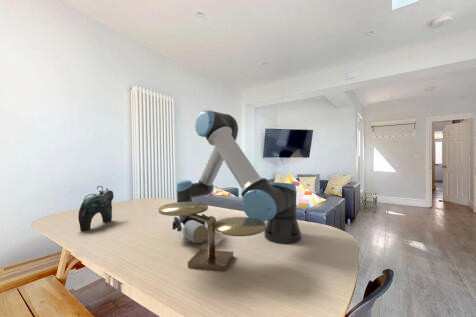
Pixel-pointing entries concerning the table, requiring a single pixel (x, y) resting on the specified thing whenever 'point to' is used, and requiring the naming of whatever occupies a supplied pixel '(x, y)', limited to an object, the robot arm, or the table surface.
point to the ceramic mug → (195, 231)
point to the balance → (213, 233)
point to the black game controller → (95, 208)
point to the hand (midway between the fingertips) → (197, 229)
